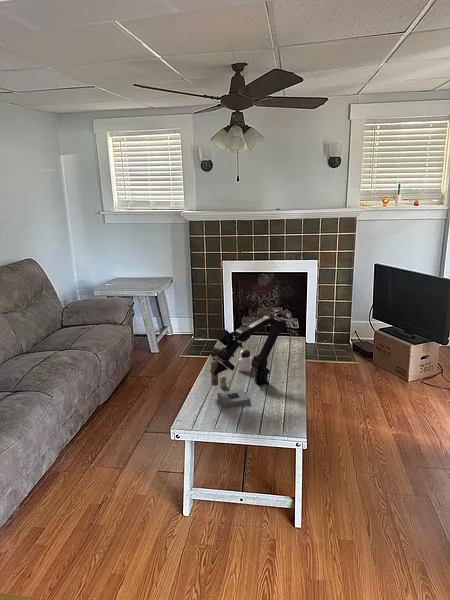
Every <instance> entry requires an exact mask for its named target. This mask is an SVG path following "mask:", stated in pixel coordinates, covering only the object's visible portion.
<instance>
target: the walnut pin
mask: <svg viewBox="0 0 450 600" xmlns="http://www.w3.org/2000/svg"><path fill="white" fill-rule="evenodd" d="M217 367H218V361H216V360H213V359H212V361H210V370H211V372H210V375H211V376H210V377H211V380H210V382H211V386H213V387H215V386H216V387H218V386H219V374H217V375H213V374H214V372H215V370H216V369H217Z"/></svg>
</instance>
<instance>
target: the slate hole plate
mask: <svg viewBox="0 0 450 600" xmlns="http://www.w3.org/2000/svg"><path fill="white" fill-rule="evenodd" d="M216 395H217V399H218V401H219V402H220V404H221V405H222V407H223V408H224V409H227V408H232V407H239V406H244V405H249V404H251V398H250V397H249V395H248V394H247V392H245V391H244V390H243V388H239V389H234V390H228V391H227V390H226V391H221V392H217V394H216Z"/></svg>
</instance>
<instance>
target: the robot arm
mask: <svg viewBox="0 0 450 600" xmlns="http://www.w3.org/2000/svg"><path fill="white" fill-rule="evenodd" d="M268 325H270V330H269V331H270V332H269V334H268V336H267V337H266V340H265V341H264V344H263V346H262V348H261V350H260V352H259V354H258V355H257V356H256V355H253V357H252V361H251V362H252V363H251V365H252V368H251V369H253V371H255V374H254V382H255V383H256V384H257V385H258V386H262V385H268V384H270V382H269V380H268V377H269V376H268V375H269V374H270V371H271V370H270V369H269V368H268V367H267V365H268V358H269V356H270V353H271V351H272V349H273V347H274V345H275V343H276V341H277V339H278V337H279V335H281V334H282V333H283V332H284V331H285V330H286V328H287V325H288V324H287V322H286V320H285V319H282V318H280V317H273V316H269V315H267V314H266V315H264V316H263V317H261V318H260V319H258V320H256V321H254V322H252V323H250V325H247V326H241V327H239V328H237V329H236V330H234V331H232V332H229V331H228V330H227V329H223V330H221V331H220V332H219V333H218V334H217V336H216V339H217V340H218V341H219V342H220V343H221V344H222V345H223V347H222V348H219V347H215V346H213V347H212V349H211V351H210V353H209V356H211V359H212V361H213V360H216V361H218V367H217V369H216V370H215V372H214V374H213V375H217V374H218V375H219V374H221V373H222V372H225V371H226V370H227V371H228V370H230V371H232V372H233V371H234V370H236V369H235V368H236V367H235V366H236V365H234V364H233V363H232V362H231V361H230V360H231V359H232V358H234V357H235V355H234V354H235V353H236V352H237V350H238V349H239V348H241V349H243V343H245V342H246V341H248V340H249V339H250V338H251V336H252V335H253V334H254V333H256V332H258V331H260V330H261V329H262V328H265V327H266V326H268ZM224 346H225V347H224ZM209 373H211V369H210V370H209Z"/></svg>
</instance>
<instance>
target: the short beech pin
mask: <svg viewBox="0 0 450 600" xmlns="http://www.w3.org/2000/svg"><path fill="white" fill-rule="evenodd" d="M219 388H222V389H225V388H227V376H226V375H225V374H222V375H220V376H219Z"/></svg>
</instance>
